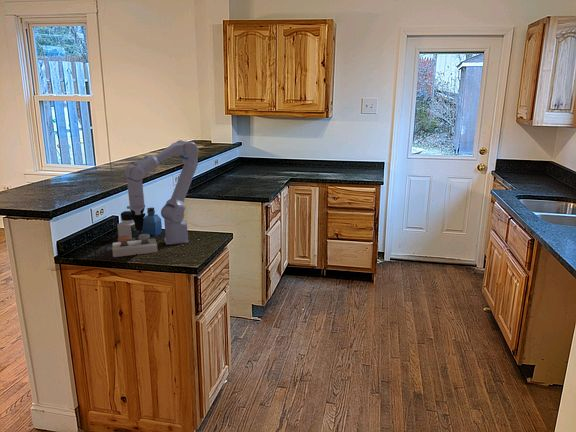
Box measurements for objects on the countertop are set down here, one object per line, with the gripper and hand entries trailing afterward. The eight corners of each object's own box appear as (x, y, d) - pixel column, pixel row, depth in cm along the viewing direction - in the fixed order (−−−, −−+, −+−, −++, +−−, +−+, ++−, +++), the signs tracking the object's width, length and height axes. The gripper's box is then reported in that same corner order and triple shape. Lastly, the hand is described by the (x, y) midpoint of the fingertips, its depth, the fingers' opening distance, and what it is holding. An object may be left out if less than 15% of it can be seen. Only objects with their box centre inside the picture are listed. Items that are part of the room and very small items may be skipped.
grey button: (150, 242, 192) (149, 233, 191) (151, 245, 187) (150, 236, 187) (139, 243, 190) (138, 234, 189) (139, 246, 186) (138, 237, 185)
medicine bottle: (132, 240, 202) (129, 214, 198) (118, 239, 203) (115, 213, 200) (141, 235, 208) (139, 210, 205) (128, 234, 210) (125, 209, 207)
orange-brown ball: (130, 244, 189) (129, 235, 188) (130, 247, 185) (129, 238, 184) (118, 245, 187) (117, 236, 187) (118, 248, 183) (117, 239, 182)
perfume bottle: (155, 235, 208) (153, 210, 205) (143, 235, 210) (141, 209, 206) (162, 232, 214) (160, 207, 211) (149, 231, 215) (147, 206, 212)
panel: (155, 245, 195) (155, 238, 194) (157, 252, 187) (157, 245, 186) (113, 249, 190) (112, 242, 189) (113, 257, 181) (112, 249, 180)
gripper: (125, 192, 189) (128, 224, 193) (125, 199, 176) (129, 233, 179) (143, 191, 191) (146, 222, 195) (144, 198, 178) (147, 231, 182)
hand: (139, 227), depth 187 cm, fingers open, 7 cm apart
